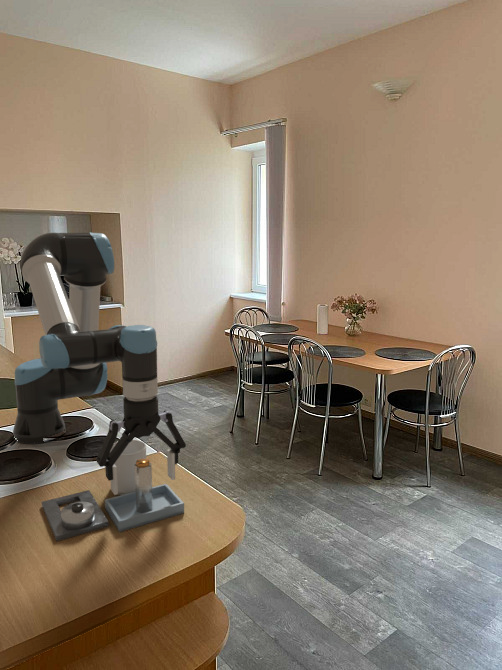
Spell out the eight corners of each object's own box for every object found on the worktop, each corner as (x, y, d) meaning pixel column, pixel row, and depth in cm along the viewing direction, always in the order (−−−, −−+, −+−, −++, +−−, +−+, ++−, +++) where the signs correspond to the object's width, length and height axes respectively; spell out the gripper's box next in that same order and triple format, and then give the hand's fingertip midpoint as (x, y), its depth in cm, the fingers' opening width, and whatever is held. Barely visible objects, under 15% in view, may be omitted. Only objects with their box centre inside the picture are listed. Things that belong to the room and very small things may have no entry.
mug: (150, 493, 131) (148, 451, 128) (113, 499, 128) (111, 456, 125) (142, 472, 142) (140, 433, 139) (108, 477, 139) (106, 437, 136)
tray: (119, 532, 114) (119, 521, 114) (105, 509, 123) (104, 499, 123) (184, 512, 122) (184, 503, 122) (166, 492, 131) (166, 483, 130)
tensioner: (41, 506, 124) (40, 488, 123) (89, 494, 130) (88, 477, 129) (56, 541, 111) (55, 521, 110) (108, 526, 116) (107, 507, 115)
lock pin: (133, 507, 123) (131, 460, 121) (149, 502, 125) (147, 456, 123) (139, 514, 120) (137, 466, 117) (155, 510, 122) (153, 462, 119)
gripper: (87, 411, 107) (93, 506, 112) (199, 391, 120) (200, 478, 124) (78, 400, 113) (84, 490, 118) (185, 383, 126) (186, 465, 131)
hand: (143, 484), depth 121 cm, fingers open, 13 cm apart
